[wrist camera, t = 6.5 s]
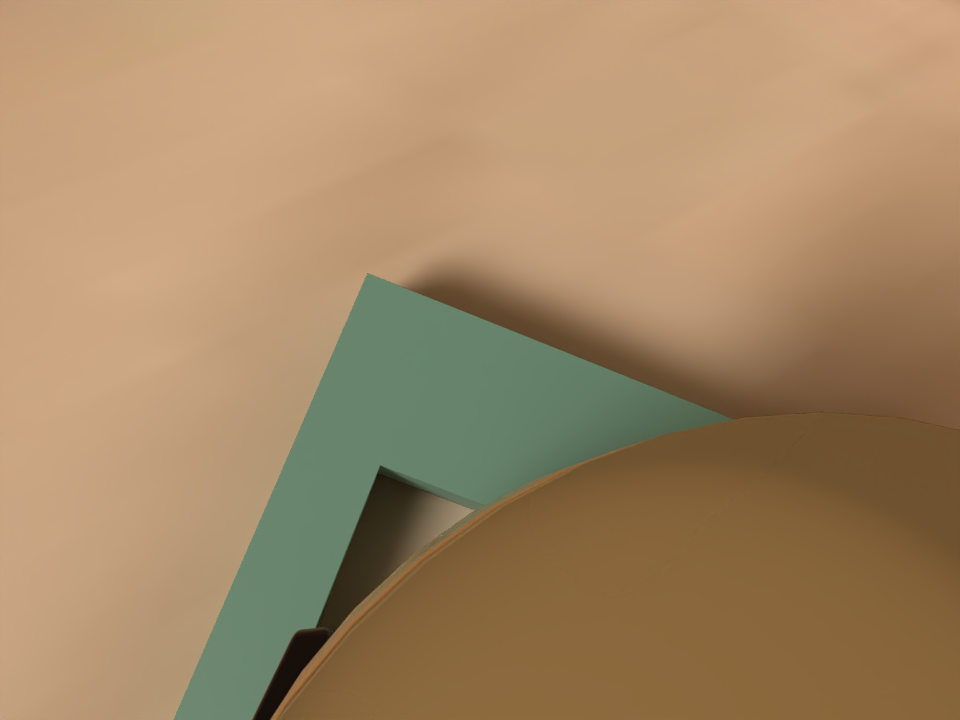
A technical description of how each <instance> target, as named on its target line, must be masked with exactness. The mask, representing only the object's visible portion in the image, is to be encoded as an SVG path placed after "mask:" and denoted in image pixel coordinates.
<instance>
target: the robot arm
mask: <svg viewBox="0 0 960 720" xmlns="http://www.w3.org/2000/svg"><path fill="white" fill-rule="evenodd" d="M331 636H332V632H331V630H330V629H329V628H327V627H320V628H311V629H302V630H298V631H297V632H296V633H295V634H294V635H293V637H292V638H291V640H290V642H289V644H288V646H287V648H286V651H285V653H284V655H283V657H282V659H281V661H280V663H279V665H278V667H277V669H276V671H275V673H274V675H273V677H272V679H271V681H270V684H269V686H268V688H267V690H266V692H265V694H264V696H263V698H262V700H261V702H260V704H259V706H258V708H257V710H256V712H255V714H254V717H253V719H252V720H270V719H271V718H272V716H273V715H274V713H275V712H276V710H277V709H278V707H279V706H280V704H281V703H282V701H283V699H284V698H285V696H286V695H287V693H288V692H289V690H290V689H291V687H292V686H293V684H294V683H295V681H296V679H297V678H298V676H299V675H300V673H301V672H302V671H303V669H304V668H305V667H306V666H307V665H308V663H309V662H310V661H311V660H312V659H313V657H314V656H315V655H316V654H317V653H318V651H319V650H320V649H321V648H322V647H323V645H324V644H325V643H326V642H327V641H328V639H329V638H330V637H331Z"/></svg>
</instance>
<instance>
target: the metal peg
mask: <svg viewBox="0 0 960 720" xmlns="http://www.w3.org/2000/svg"><path fill="white" fill-rule="evenodd" d="M270 720H960V430H956V429H951V428H946V427H942V426H937V425H932V424H928V423H923V422H918V421H913V420H909V419H904V418H897V417H884V416H870V415H856V414H842V413H828V412H816V413H802V414H787V415H772V416H758V417H743V418H739V419H734V420H729V421H724V422H720V423H715V424H710V425H706V426H701V427H696V428H692V429H687V430H682V431H678V432H673V433H668V434H664V435H661V436H658V437H654V438H651V439H648V440H645V441H642V442H639V443H636V444H633V445H630V446H627V447H624V448H621V449H618V450H615V451H612V452H609V453H606V454H603V455H600V456H597V457H594V458H592V459H589V460H586V461H583V462H581V463H578V464H575V465H572V466H570V467H567V468H564V469H562V470H559V471H556V472H553V473H551V474H548V475H545V476H542V477H540V478H537V479H534V480H532V481H530V482H528V483H526V484H524V485H523V486H521V487H519V488H517V489H515V490H513V491H511V492H509V493H507V494H506V495H504V496H502V497H500V498H498V499H496V500H494V501H492V502H491V503H489V504H487V505H485V506H483V507H481V508H479V509H477V510H475V511H474V512H472V513H470V514H469V515H467V516H466V517H465V518H463V519H462V520H460V521H459V522H458V523H456V524H455V525H453V526H452V527H451V528H449V529H448V530H446V531H445V532H444V533H442V534H441V535H439V536H438V537H437V538H435V539H434V540H432V541H431V542H430V543H428V544H427V545H425V546H424V547H423V548H421V549H420V550H418V551H417V552H416V553H414V554H413V555H411V556H410V557H409V558H408V559H407V560H406V561H405V562H404V563H403V564H402V565H401V566H400V567H399V568H397V569H396V570H395V571H394V572H393V573H392V574H391V575H390V576H389V577H388V578H387V579H386V580H385V581H383V582H382V583H381V584H380V585H379V586H378V587H377V588H376V589H375V590H374V591H373V592H372V593H371V594H369V595H368V596H367V597H366V598H365V599H364V600H363V601H362V602H361V603H360V604H359V605H358V606H357V607H355V608H354V610H353V611H352V612H351V613H350V614H349V616H348V617H347V618H346V619H345V620H344V622H343V623H342V624H341V625H340V626H339V628H338V629H337V630H336V631H335V632H334V634H333V635H332V636H331V637H330V638H329V639H328V641H327V642H326V643H325V644H324V645H323V647H322V648H321V649H320V650H319V651H318V653H317V654H316V655H315V656H314V657H313V659H312V660H311V661H310V662H309V663H308V665H307V666H306V667H305V668H304V669H303V671H302V672H301V673H300V675H299V676H298V678H297V679H296V681H295V683H294V684H293V686H292V687H291V689H290V690H289V692H288V693H287V695H286V696H285V698H284V699H283V701H282V703H281V704H280V706H279V707H278V709H277V710H276V712H275V713H274V715H273V716H272V718H271V719H270Z"/></svg>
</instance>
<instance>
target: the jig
mask: <svg viewBox="0 0 960 720" xmlns="http://www.w3.org/2000/svg"><path fill="white" fill-rule="evenodd" d="M729 420H734V419H732V418H729V417H727V416H724V415H722V414H719V413H717V412H714V411H712V410H709V409H707V408H704V407H702V406H699V405H697V404H694V403H692V402H689V401H687V400H684V399H682V398H679V397H677V396H674V395H672V394H669V393H667V392H664V391H662V390H659V389H657V388H654V387H652V386H649V385H647V384H644V383H642V382H639V381H637V380H634V379H632V378H629V377H627V376H624V375H622V374H619V373H617V372H614V371H612V370H609V369H607V368H604V367H602V366H599V365H597V364H594V363H592V362H589V361H587V360H584V359H582V358H579V357H577V356H574V355H572V354H569V353H566V352H564V351H561V350H559V349H556V348H554V347H551V346H549V345H546V344H544V343H541V342H539V341H536V340H534V339H531V338H529V337H526V336H524V335H521V334H519V333H516V332H514V331H511V330H509V329H506V328H504V327H501V326H499V325H496V324H494V323H491V322H489V321H486V320H484V319H481V318H479V317H476V316H474V315H471V314H469V313H466V312H464V311H461V310H459V309H456V308H454V307H451V306H449V305H446V304H444V303H441V302H439V301H436V300H434V299H431V298H429V297H426V296H424V295H421V294H419V293H416V292H414V291H411V290H409V289H406V288H404V287H401V286H399V285H396V284H394V283H391V282H389V281H386V280H384V279H381V278H379V277H376V276H374V275H371V274H369V273H367V276H366V278H365V280H364V282H363V285H362V287H361V289H360V292H359V294H358V296H357V299H356V301H355V303H354V305H353V308H352V310H351V312H350V315H349V317H348V319H347V322H346V324H345V326H344V329H343V331H342V333H341V335H340V338H339V340H338V342H337V345H336V347H335V349H334V352H333V354H332V356H331V358H330V361H329V363H328V365H327V368H326V370H325V372H324V375H323V377H322V379H321V381H320V384H319V386H318V388H317V391H316V393H315V395H314V398H313V400H312V402H311V404H310V407H309V409H308V411H307V414H306V416H305V418H304V421H303V423H302V425H301V427H300V430H299V432H298V434H297V437H296V439H295V441H294V444H293V446H292V448H291V451H290V453H289V455H288V457H287V460H286V462H285V464H284V467H283V469H282V471H281V474H280V476H279V478H278V480H277V483H276V485H275V487H274V490H273V492H272V494H271V497H270V499H269V501H268V503H267V506H266V508H265V510H264V513H263V515H262V517H261V520H260V522H259V524H258V526H257V529H256V531H255V533H254V536H253V538H252V540H251V543H250V545H249V547H248V550H247V552H246V554H245V556H244V559H243V561H242V563H241V566H240V568H239V570H238V573H237V575H236V577H235V579H234V582H233V584H232V586H231V589H230V591H229V593H228V596H227V598H226V600H225V602H224V605H223V607H222V609H221V612H220V614H219V616H218V619H217V621H216V623H215V625H214V628H213V630H212V632H211V635H210V637H209V639H208V642H207V644H206V646H205V648H204V651H203V653H202V655H201V658H200V660H199V662H198V665H197V667H196V669H195V672H194V674H193V676H192V678H191V681H190V683H189V685H188V688H187V690H186V692H185V695H184V697H183V699H182V701H181V704H180V706H179V708H178V711H177V713H176V715H175V718H174V720H252V719H253V717H254V714H255V712H256V710H257V708H258V706H259V704H260V702H261V700H262V698H263V696H264V694H265V692H266V690H267V688H268V686H269V684H270V681H271V679H272V677H273V675H274V673H275V671H276V669H277V667H278V665H279V663H280V661H281V659H282V657H283V655H284V653H285V651H286V648H287V646H288V644H289V642H290V640H291V638H292V637H293V635H294V634H295V633H296V632H297V631H298V630H302V629H311V628H317V626H318V623H319V621H320V618H321V616H322V613H323V611H324V608H325V606H326V603H327V601H328V598H329V596H330V593H331V591H332V588H333V586H334V583H335V581H336V578H337V576H338V573H339V571H340V568H341V566H342V563H343V561H344V558H345V556H346V553H347V550H348V548H349V545H350V543H351V540H352V538H353V535H354V533H355V530H356V528H357V525H358V523H359V520H360V518H361V515H362V513H363V510H364V508H365V505H366V503H367V500H368V498H369V495H370V493H371V490H372V488H373V485H374V483H375V480H376V478H377V475H378V473H379V474H382V475H384V476H387V477H389V478H392V479H395V480H397V481H400V482H402V483H405V484H408V485H410V486H413V487H416V488H418V489H421V490H423V491H426V492H429V493H431V494H434V495H436V496H439V497H442V498H444V499H447V500H450V501H452V502H455V503H457V504H460V505H463V506H465V507H468V508H470V509H473V510H477V509H479V508H481V507H483V506H485V505H487V504H489V503H491V502H492V501H494V500H496V499H498V498H500V497H502V496H504V495H506V494H507V493H509V492H511V491H513V490H515V489H517V488H519V487H521V486H523V485H524V484H526V483H528V482H530V481H532V480H534V479H537V478H540V477H542V476H545V475H548V474H551V473H553V472H556V471H559V470H562V469H564V468H567V467H570V466H572V465H575V464H578V463H581V462H583V461H586V460H589V459H592V458H594V457H597V456H600V455H603V454H606V453H609V452H612V451H615V450H618V449H621V448H624V447H627V446H630V445H633V444H636V443H639V442H642V441H645V440H648V439H651V438H654V437H658V436H661V435H664V434H668V433H673V432H678V431H682V430H687V429H692V428H696V427H701V426H706V425H710V424H715V423H720V422H724V421H729Z"/></svg>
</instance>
